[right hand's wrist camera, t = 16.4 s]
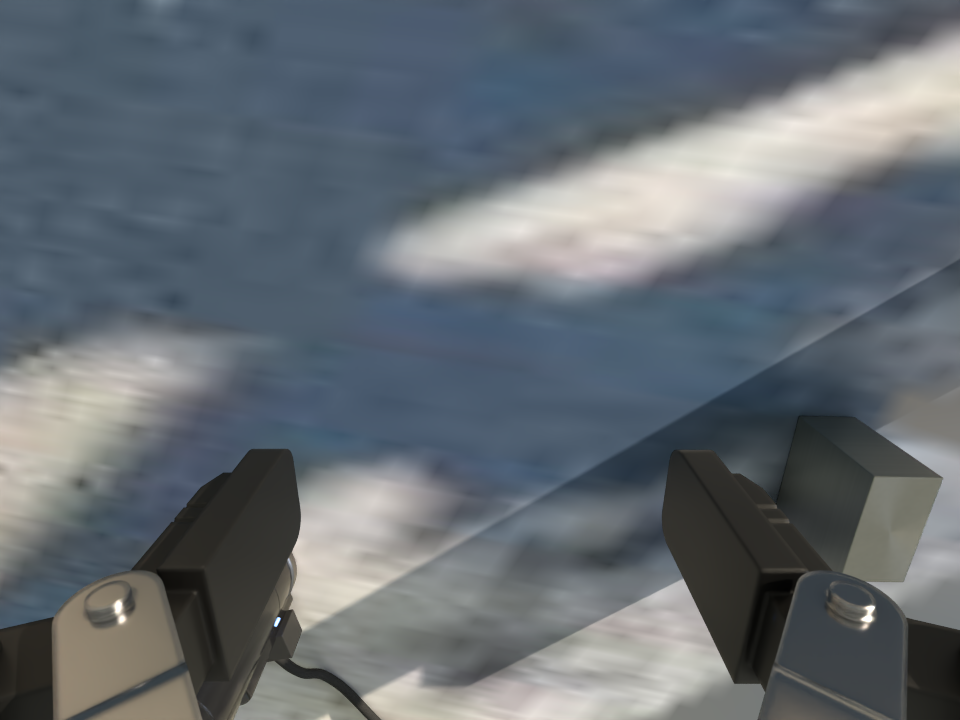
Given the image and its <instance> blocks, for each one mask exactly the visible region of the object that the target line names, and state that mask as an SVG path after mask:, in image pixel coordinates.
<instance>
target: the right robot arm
mask: <svg viewBox="0 0 960 720" xmlns="http://www.w3.org/2000/svg"><path fill="white" fill-rule="evenodd" d="M300 522H301V511H300V504H299V497H298V490H297V483H296V475H295V468H294V461H293V456H292V454H291V452H290V450H289V449H251V450H249V451H248V453H247V454H246V455H245V456H244V458H243V459H242V460H241V461H240V463H239V464H238V465H237V467H236V468H235V469H234V470H233V472H232V473H222V474H221V475H219V476H218V477H216V478H214V479H213V480H211V481H210V482H208V483H207V484H205V485H204V486H202V487H201V488H200V489H199V490H198V491H197V493H196V494H195V495H194V496H193V497H192V498H191V500H190V501H189V502H188V503H187V507H186V508H183V509H182V510H181V512H180V513H179V514H178V515H177V516H176V517H175V521H174V522H171V523H170V525H169V526H168V527H167V528H166V529H165V530H164V532H163V533H162V534H161V535H160V536H159V538H158V539H157V540H156V541H155V542H154V543H153V545H152V546H151V547H150V548H149V549H148V551H147V552H146V553H145V554H144V555H143V557H142V558H141V559H140V560H139V561H138V562H137V564H136V565H135V566H134V567H133V568H132V570H131V571H125V572H121V573H116V574H113V575H110V576H107V577H104V578H102V579H100V580H97V581H95V582H93V583H91V584H89V585H87V586H86V587H84V588H83V589H81V590H79V591H78V592H77V593H75V594H74V595H73V596H71V597H70V598H69V599H68V600H67V601H66V602H65V603H64V604H63V605H62V606H61V607H60V609H59V610H58V612H57V613H56V615H55V617H52V618H47V619H43V620H39V621H34V622H30V623H26V624H21V625H17V626H13V627H8V628H4V629H0V720H233V719H234V717H235V715H236V713H237V710H238V708H239V706H240V705H243V704H246V703H247V702H248V701H249V700H250V699H251V697H252V695H253V693H254V690H255V688H256V686H257V683H258V681H259V679H260V676H261V674H262V671H263V669H264V667H265V664H266V662H269V661H275V662H277V663H278V664H279V665H280V666H281V667H282V668H284V669H285V670H286V671H288V672H290V673H291V674H293V675H295V676H298V677H300V678H304V679H312V678H317V679H321V680H323V681H325V682H327V683H329V684H330V685H332V686H333V687H335V688H336V689H337V690H339V691H340V692H341V693H342V694H343V695H344V696H345V697H346V698H347V699H348V700H349V701H350V702H351V703H352V704H353V705H354V706H355V707H356V708H357V709H358V710H359V711H360V712H361V713H362V714H363V715H364V716H365V717H366V718H367V719H368V720H381V719H380V718H379V717H378V716H377V715H376V714H375V713H374V712H373V711H372V710H371V709H370V708H369V707H368V706H367V705H366V703H365V702H364V701H363V700H362V699H361V698H360V697H359V696H358V695H357V694H356V693H355V692H354V691H353V690H352V689H351V688H350V687H349V686H348V685H346V684H345V683H344V682H343V681H342V680H340V679H339V678H337V677H336V676H334V675H333V674H331V673H329V672H327V671H325V670H323V669H317V668H313V669H307V668H302V667H300V666H298V665H297V664H295V663H294V662H292V661H291V660H290V659H288V658H292V656H293V654H294V651H295V648H296V646H297V643H298V640H299V638H300V635H301V632H302V629H301V627H300V624H299V622H298V620H297V617H296V615H295V613H294V611H293V609H292V610H289V607H290V605H291V603H292V600H293V598H292V596H291V593H290V592H291V590H292V588H293V586H294V583H295V580H296V575H297V568H296V562H295V559H294V556H293V554H292V550H293V548H294V546H295V544H296V541H297V538H298V535H299V530H300ZM662 526H663V533H664V537H665V540H666V543H667V545H668V547H669V549H670V551H671V553H672V556H673V558H674V560H675V562H676V564H677V566H678V568H679V570H680V572H681V574H682V576H683V578H684V580H685V582H686V585H687V587H688V589H689V591H690V593H691V595H692V597H693V599H694V601H695V603H696V605H697V607H698V609H699V611H700V614H701V616H702V618H703V620H704V622H705V624H706V626H707V628H708V630H709V632H710V634H711V636H712V638H713V640H714V643H715V645H716V647H717V649H718V651H719V653H720V655H721V657H722V659H723V661H724V663H725V665H726V667H727V669H728V672H729V674H730V676H731V678H732V680H733V682H734V684H761V685H762V687H763V689H764V691H765V695H764V699H763V702H762V706H761V709H760V713H759V716H758V720H960V630H957V629H952V628H948V627H944V626H939V625H935V624H931V623H926V622H922V621H918V620H913V619H909V618H906V617H905V615H904V613H903V612H902V610H901V609H900V607H899V606H898V605H897V604H896V603H895V602H894V601H893V600H892V599H891V598H890V597H889V596H887V595H886V594H885V593H883V592H882V591H881V590H879V589H877V588H876V587H874V586H873V585H871V584H869V583H867V582H865V581H863V580H860V579H858V578H856V577H853V576H850V575H847V574H844V573H839V572H835V571H832V569H831V568H830V567H829V566H828V565H827V563H826V562H825V561H824V560H823V559H822V558H821V556H820V555H819V554H818V553H817V552H816V551H815V549H814V548H813V547H812V546H811V545H810V544H809V542H808V541H807V540H806V539H805V538H804V536H803V535H802V534H801V533H800V532H799V531H798V529H797V528H796V527H795V526H794V525H793V524H792V523H789V519H788V518H787V517H786V515H785V514H784V513H783V512H782V511H781V509H777V505H776V504H775V502H774V501H773V500H772V499H771V498H770V497H769V495H768V494H767V493H766V492H765V491H764V490H763V488H761V487H760V486H758V485H757V484H755V483H753V482H752V481H750V480H749V479H747V478H746V477H744V476H743V475H741V474H732V473H731V472H730V471H729V470H728V468H727V467H726V466H725V465H724V463H723V462H722V461H721V460H720V458H719V457H718V456H717V455H716V453H715V452H714V451H712V450H674V451H673V452H672V454H671V457H670V461H669V468H668V475H667V482H666V489H665V496H664V503H663V510H662Z"/></svg>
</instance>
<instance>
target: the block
mask: <svg viewBox="0 0 960 720" xmlns="http://www.w3.org/2000/svg"><path fill="white" fill-rule="evenodd" d="M942 481H943V477H941V476H940V475H938V474H937V473H935V472H934V471H932V470H931V469H929V468H928V467H927V466H925V465H924V464H922V463H921V462H919V461H918V460H916V459H915V458H913V457H912V456H911V455H909V454H908V453H906V452H905V451H903V450H902V449H900V448H899V447H898V446H896V445H895V444H893V443H892V442H890V441H889V440H887V439H886V438H884V437H883V436H882V435H880V434H879V433H877V432H876V431H874V430H873V429H871V428H870V427H868V426H867V425H866V424H864V423H863V422H861V421H860V420H858V419H857V418H855V417H821V416H799V419H798V423H797V427H796V430H795V434H794V438H793V442H792V446H791V450H790V453H789V457H788V461H787V465H786V469H785V472H784V476H783V480H782V484H781V488H780V492H779V495H778V499H777V503H776V505H777V508H778V509H781V511H782V512H783V513H784V514H785V515H786V517H787V518H788V519H789V522H790V523H792V524H793V525H794V526H795V527H796V528H797V529H798V531H799V532H800V533H801V534H802V535H803V536H804V538H805V539H806V540H807V541H808V542H809V544H810V545H811V546H812V547H813V548H814V549H815V551H816V552H817V553H818V554H819V555H820V556H821V558H822V559H823V560H824V561H825V562H826V563H827V565H828V566H829V567H830V568H831V569H832V571H835V572H839V573H844V574H847V575H850V576H853V577H856V578H858V579H860V580H863V581H869V582H904V579H905V577H906V574H907V572H908V569H909V566H910V564H911V561H912V559H913V556H914V553H915V551H916V548H917V546H918V543H919V540H920V538H921V535H922V533H923V530H924V527H925V525H926V522H927V520H928V517H929V514H930V512H931V509H932V507H933V504H934V501H935V499H936V496H937V494H938V491H939V488H940V486H941V483H942Z"/></svg>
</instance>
